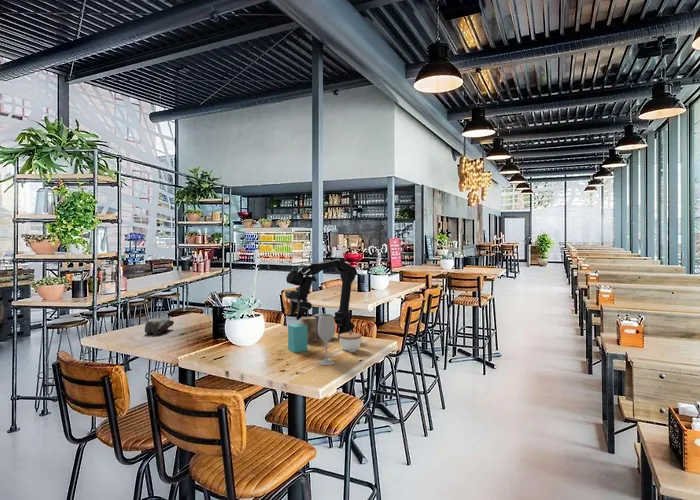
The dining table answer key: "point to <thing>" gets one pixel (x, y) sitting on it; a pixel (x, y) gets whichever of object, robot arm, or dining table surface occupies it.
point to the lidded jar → (350, 341)
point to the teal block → (297, 337)
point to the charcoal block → (317, 324)
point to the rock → (158, 325)
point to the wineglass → (326, 333)
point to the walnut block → (310, 328)
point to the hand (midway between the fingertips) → (294, 317)
